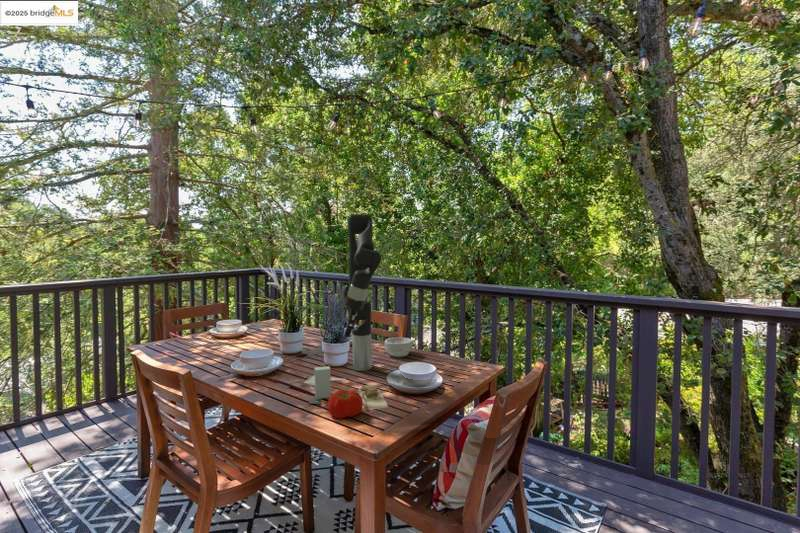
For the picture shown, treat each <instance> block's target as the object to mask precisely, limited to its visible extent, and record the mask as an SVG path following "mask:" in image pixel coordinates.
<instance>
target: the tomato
mask: <svg viewBox="0 0 800 533" xmlns="http://www.w3.org/2000/svg"><path fill="white" fill-rule="evenodd" d="M327 408H328V413H329V414H330V415H331V416H332V417H334V418H335V419H339V420H340V419H344V418H352V417H355V416H356V417H357V416H358V415H359V414H361V412H362V411H363V402H362V398H361V396H360V395H359V392H358V391H356V390H350V391H349V390H347V391H346V390H345V389H340V390H339V389H338V390H336V391H335V392H334V393H332V394H331V397H329V398H328V401H327Z"/></svg>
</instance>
